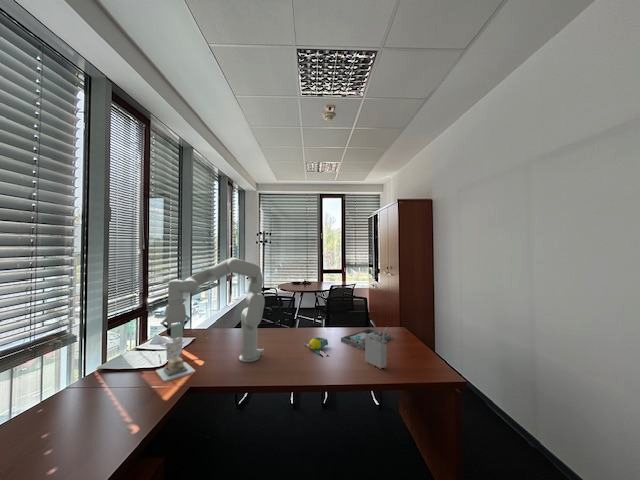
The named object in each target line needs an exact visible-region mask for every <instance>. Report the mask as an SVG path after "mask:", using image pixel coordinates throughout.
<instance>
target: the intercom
mask: <svg viewBox="0 0 640 480" xmlns="http://www.w3.org/2000/svg"><path fill="white" fill-rule="evenodd" d="M377 331H378V330H377ZM377 331H375V332H373V334H374V333H380V334H377V335H378V336H379V335H381V332H382V331H380V332H377ZM366 334H367V333H360V334H356V335H354V336H350V339H349V340H352V341H355V342H358V343H360V344H363V345H364V343H365V335H366Z"/></svg>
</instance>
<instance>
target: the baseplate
mask: <svg viewBox="0 0 640 480" xmlns="http://www.w3.org/2000/svg"><path fill="white" fill-rule="evenodd" d="M155 373H156V374H157V376H158V377H159V378H160V380H161V381H162V382H163V383H166V382H170V381H172V380H173V381H174V380H176V379H179V378H184V377H186V376H190V375H192V374H195V373H196V370H195V369H194V368H193V367H192V366H191V365H190V364H189V363H188V362H186V361H183V369H182V370H179V371H175V372H172V373H170V372H169V371H168V366H166V367H161V368H158V369H156V370H155ZM189 374H190V375H189Z"/></svg>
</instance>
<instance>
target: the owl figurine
mask: <svg viewBox="0 0 640 480" xmlns="http://www.w3.org/2000/svg"><path fill="white" fill-rule="evenodd" d="M302 345H303V346H306V348H307V349H308V350H309V349H311V350H312V351H313V352H315V353H316V354H318V355H319V354H320V350H322V348H324V347H326V346H329V342H328V339H327V338H325V337H314V338H312V339H310V340H309V342H308V341H305V343H302Z"/></svg>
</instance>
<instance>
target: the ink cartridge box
mask: <svg viewBox="0 0 640 480" xmlns="http://www.w3.org/2000/svg"><path fill="white" fill-rule="evenodd" d="M165 346H166V349H165V351H166V361H167V360H169V359H173V358H177V357H180V358H183V336H181V337H177V338H172V340H169V341H167V342H166V345H165Z"/></svg>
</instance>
